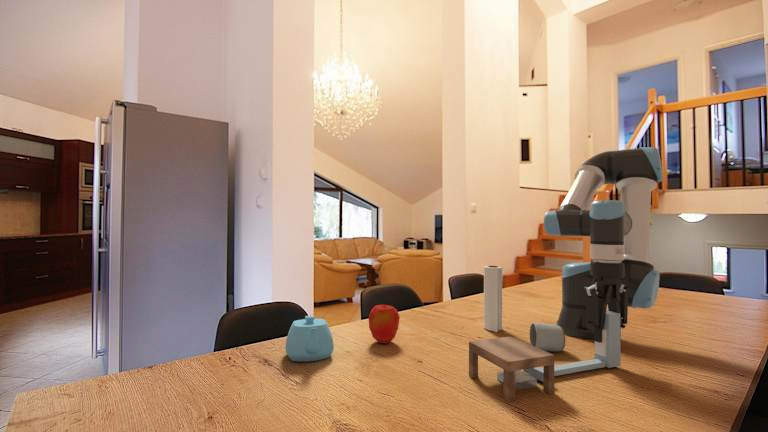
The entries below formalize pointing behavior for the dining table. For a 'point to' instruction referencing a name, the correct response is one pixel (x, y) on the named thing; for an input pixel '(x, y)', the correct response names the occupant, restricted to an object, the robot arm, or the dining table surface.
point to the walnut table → (511, 360)
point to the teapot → (309, 340)
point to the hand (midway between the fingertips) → (607, 353)
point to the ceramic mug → (547, 337)
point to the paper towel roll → (493, 298)
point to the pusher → (600, 361)
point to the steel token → (519, 380)
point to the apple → (383, 323)
